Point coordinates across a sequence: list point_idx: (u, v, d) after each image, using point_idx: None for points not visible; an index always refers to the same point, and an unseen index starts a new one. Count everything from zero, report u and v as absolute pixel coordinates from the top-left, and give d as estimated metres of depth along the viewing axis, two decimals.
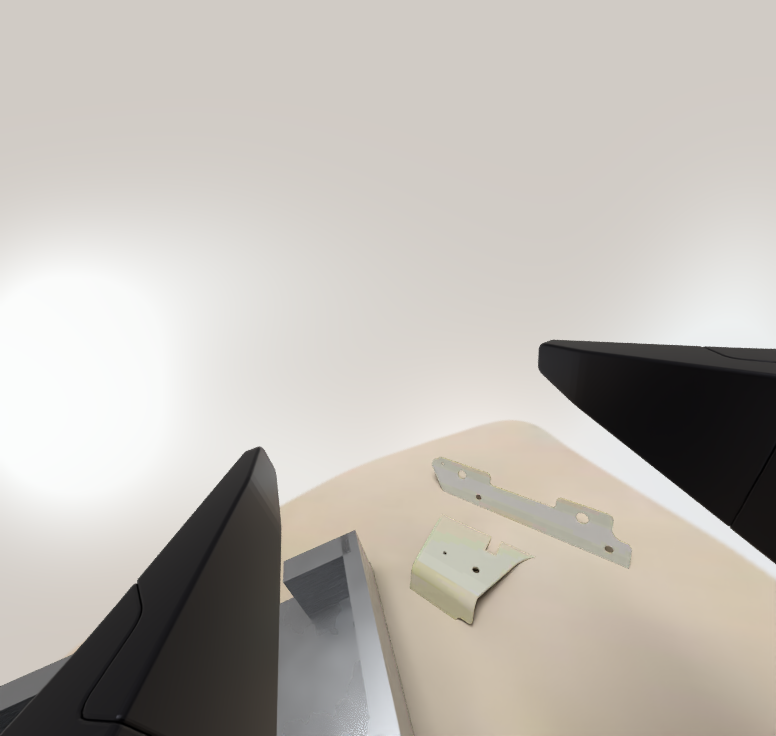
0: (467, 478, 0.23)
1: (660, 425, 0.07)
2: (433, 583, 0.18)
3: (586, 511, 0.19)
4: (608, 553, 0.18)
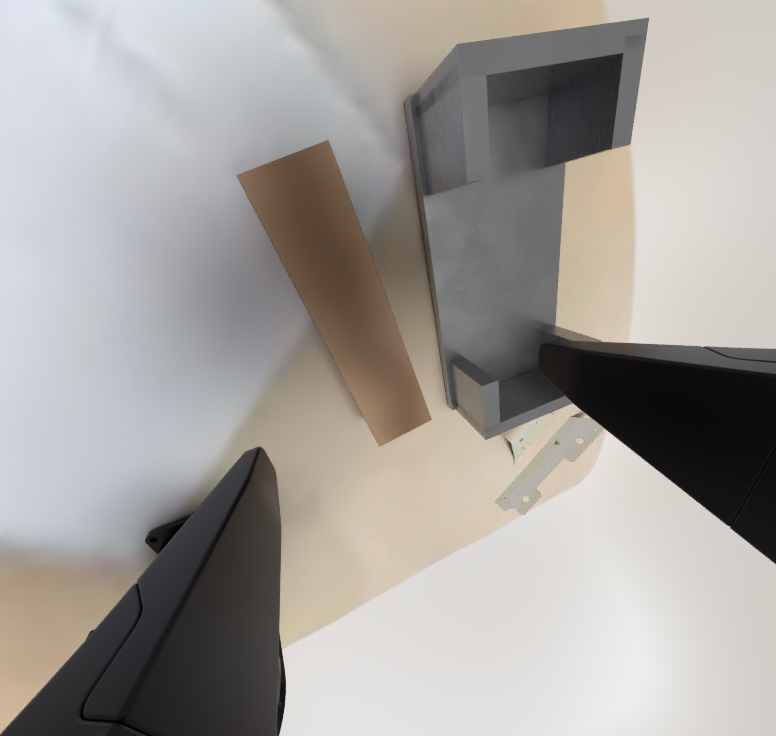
0: (574, 443, 0.29)
1: (660, 425, 0.07)
2: None
3: (528, 504, 0.30)
4: (503, 498, 0.32)
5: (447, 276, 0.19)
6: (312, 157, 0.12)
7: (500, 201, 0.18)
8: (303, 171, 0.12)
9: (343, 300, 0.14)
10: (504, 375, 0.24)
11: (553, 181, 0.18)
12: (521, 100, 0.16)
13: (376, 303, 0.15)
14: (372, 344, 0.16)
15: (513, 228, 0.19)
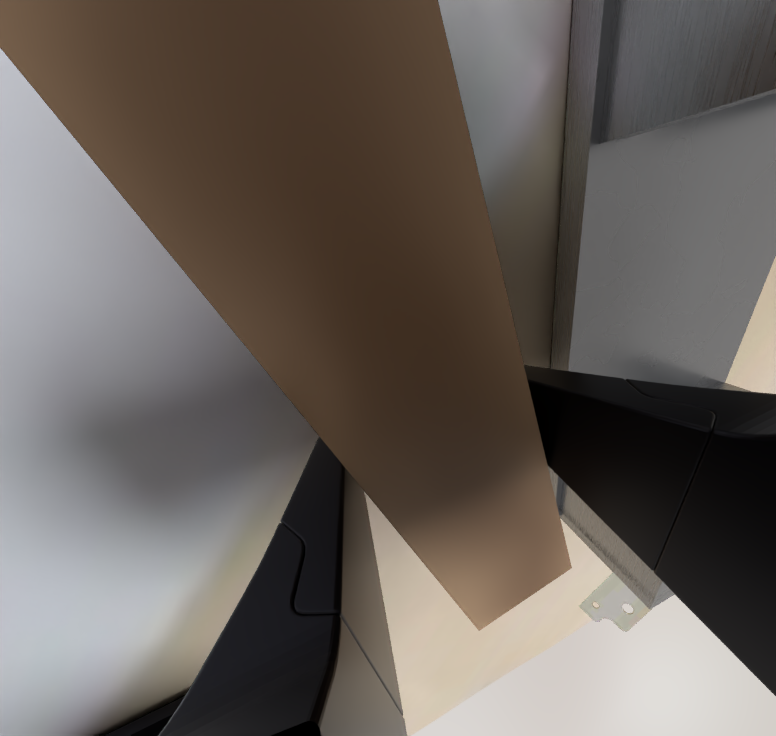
0: None
1: (585, 460, 0.06)
2: None
3: (633, 616, 0.21)
4: (592, 601, 0.23)
5: (595, 312, 0.10)
6: None
7: (719, 164, 0.09)
8: None
9: (426, 412, 0.05)
10: None
11: None
12: None
13: (505, 402, 0.06)
14: (486, 483, 0.07)
15: (722, 219, 0.10)
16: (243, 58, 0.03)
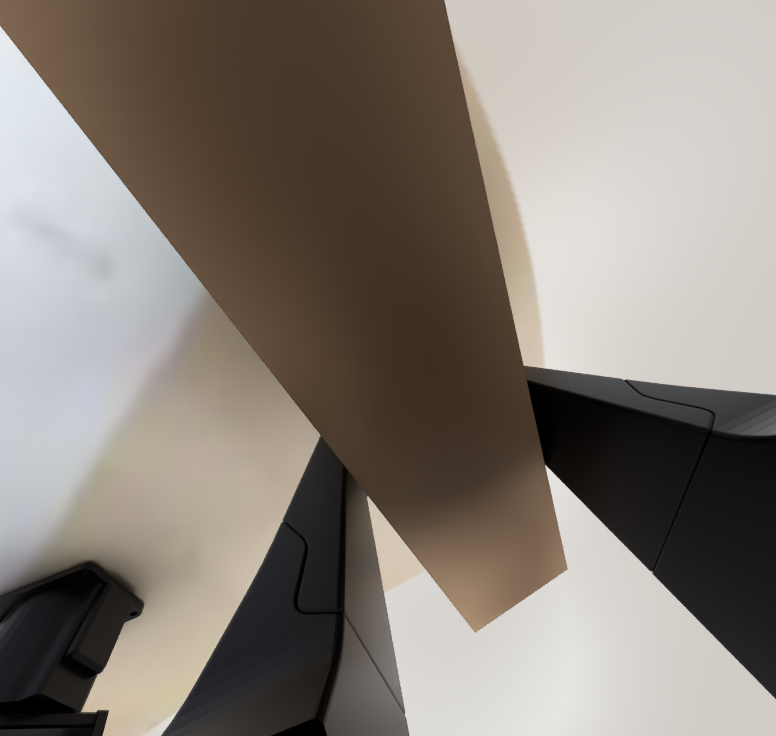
0: None
1: (584, 461, 0.06)
2: None
3: None
4: None
5: None
6: None
7: None
8: None
9: (425, 410, 0.05)
10: None
11: None
12: None
13: (504, 401, 0.06)
14: (484, 483, 0.07)
15: None
16: (250, 50, 0.03)
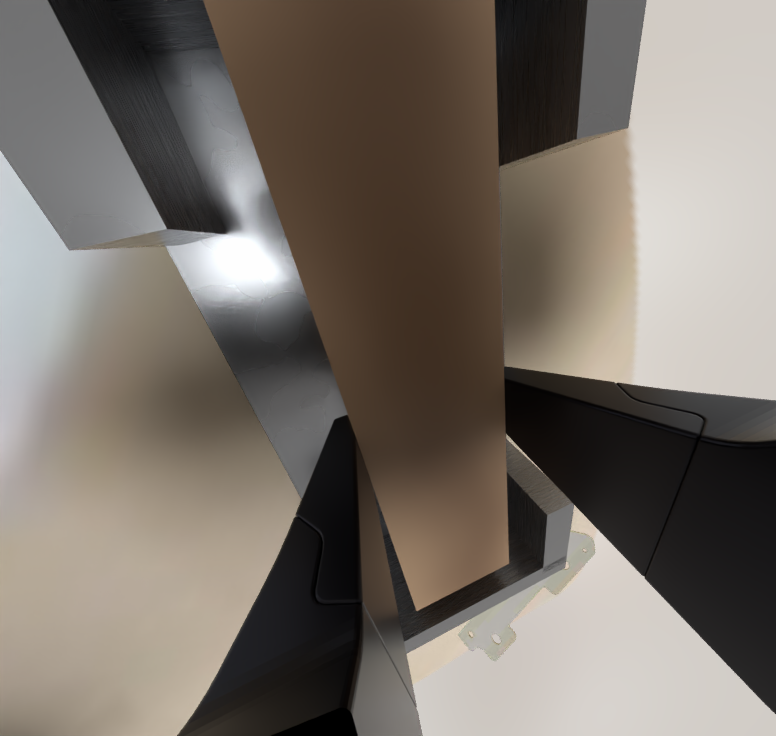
0: None
1: (576, 464, 0.06)
2: None
3: (500, 647, 0.22)
4: (468, 631, 0.23)
5: (275, 389, 0.10)
6: None
7: None
8: (401, 2, 0.04)
9: (419, 368, 0.06)
10: None
11: None
12: None
13: (482, 378, 0.07)
14: (453, 452, 0.08)
15: None
16: (359, 50, 0.04)
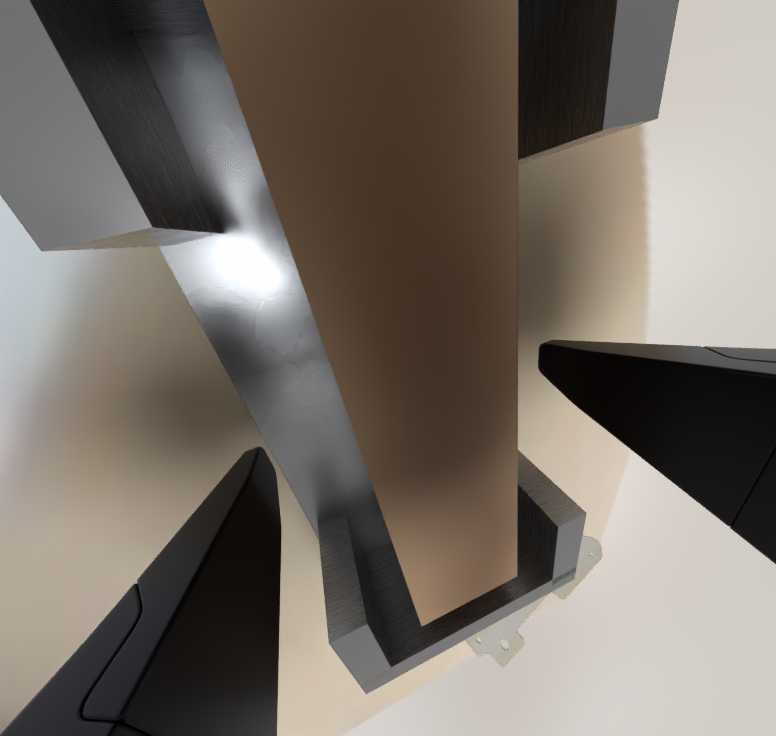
0: None
1: (660, 425, 0.07)
2: None
3: (509, 652, 0.22)
4: (475, 636, 0.23)
5: (275, 396, 0.09)
6: None
7: None
8: None
9: (429, 377, 0.06)
10: None
11: None
12: None
13: (495, 387, 0.07)
14: (463, 464, 0.07)
15: None
16: (368, 28, 0.04)
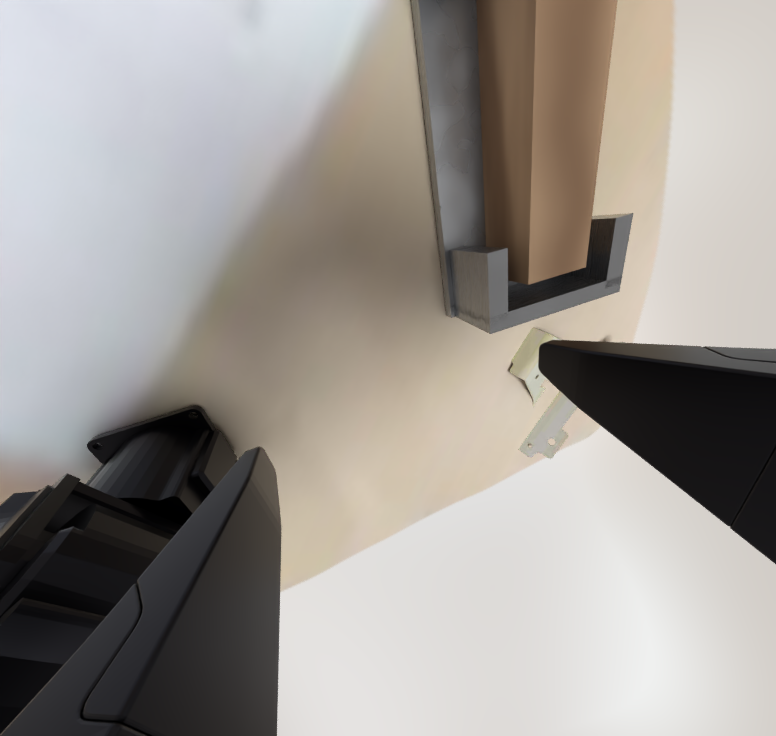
0: None
1: (660, 425, 0.07)
2: (535, 349, 0.24)
3: (555, 446, 0.28)
4: (527, 444, 0.29)
5: (447, 126, 0.15)
6: None
7: None
8: None
9: (571, 43, 0.12)
10: None
11: None
12: None
13: (598, 66, 0.13)
14: (574, 126, 0.13)
15: None
16: None
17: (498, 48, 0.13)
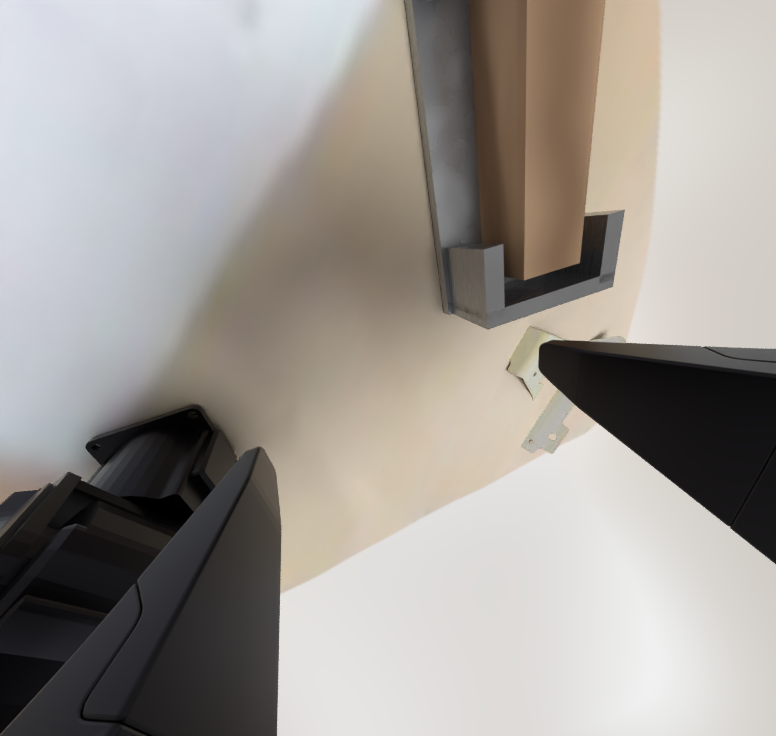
0: None
1: (660, 425, 0.07)
2: (532, 347, 0.24)
3: (556, 441, 0.28)
4: None
5: (442, 126, 0.16)
6: None
7: None
8: None
9: (561, 44, 0.12)
10: None
11: None
12: None
13: (588, 66, 0.13)
14: (566, 124, 0.14)
15: None
16: None
17: (491, 49, 0.14)
